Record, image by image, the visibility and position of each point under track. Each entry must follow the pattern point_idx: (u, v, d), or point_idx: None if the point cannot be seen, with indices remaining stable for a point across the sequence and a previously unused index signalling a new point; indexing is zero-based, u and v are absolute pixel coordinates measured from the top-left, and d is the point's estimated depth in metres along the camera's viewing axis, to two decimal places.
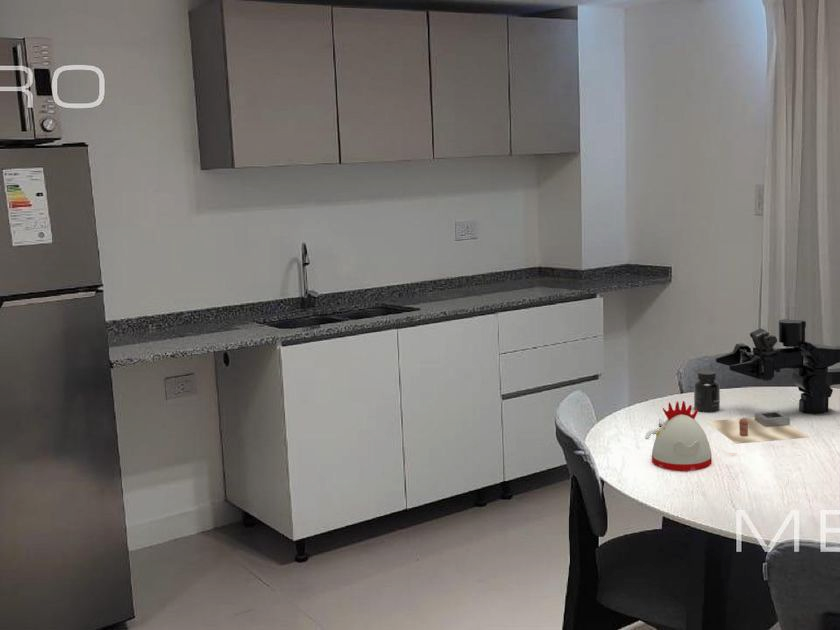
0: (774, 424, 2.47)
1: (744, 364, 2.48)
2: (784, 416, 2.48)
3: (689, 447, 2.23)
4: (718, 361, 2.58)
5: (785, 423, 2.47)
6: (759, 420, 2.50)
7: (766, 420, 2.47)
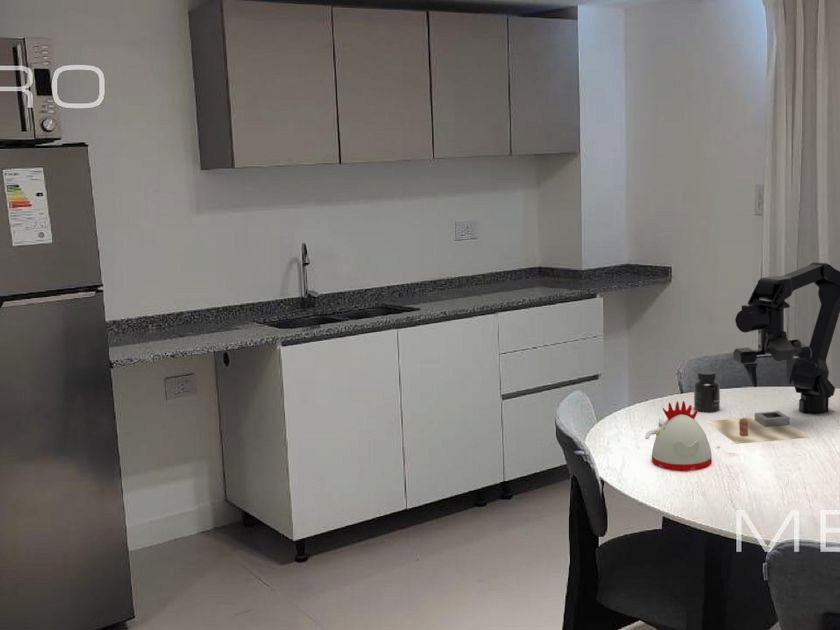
0: (774, 424, 2.47)
1: None
2: (784, 416, 2.48)
3: (689, 447, 2.23)
4: None
5: (785, 423, 2.47)
6: (759, 420, 2.50)
7: (766, 420, 2.47)
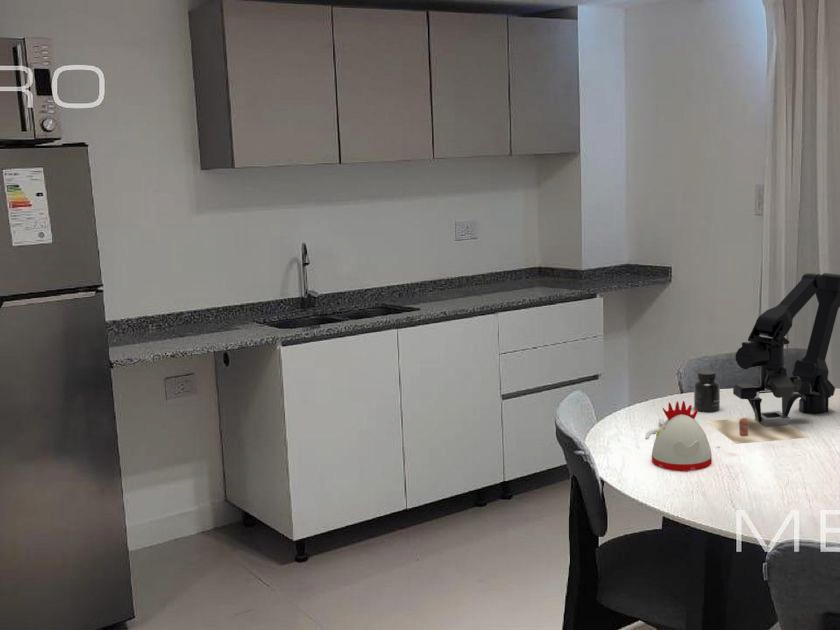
0: (774, 424, 2.47)
1: None
2: (784, 416, 2.48)
3: (689, 447, 2.23)
4: None
5: (785, 423, 2.47)
6: None
7: (766, 420, 2.47)
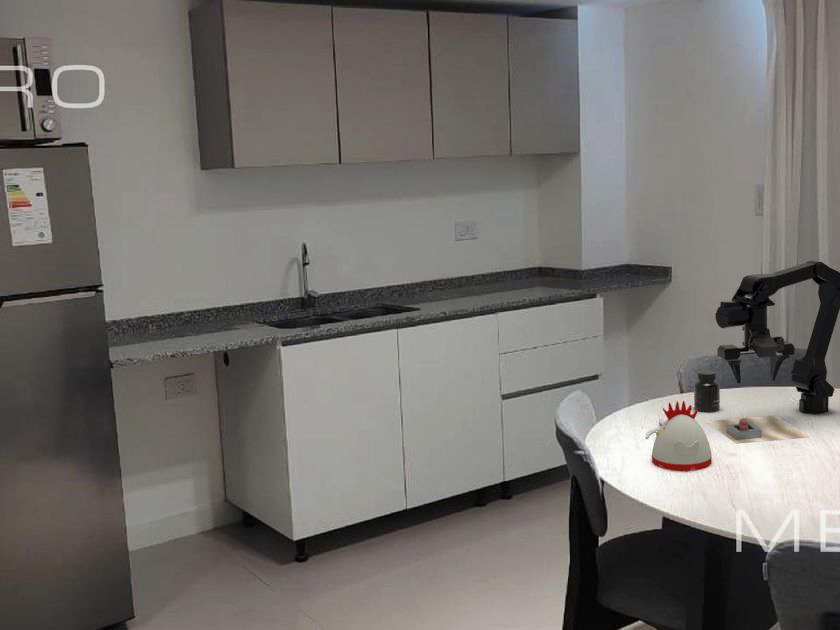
0: (745, 437, 2.38)
1: None
2: (756, 428, 2.40)
3: (689, 447, 2.23)
4: None
5: (757, 435, 2.39)
6: (730, 432, 2.42)
7: (737, 432, 2.38)
